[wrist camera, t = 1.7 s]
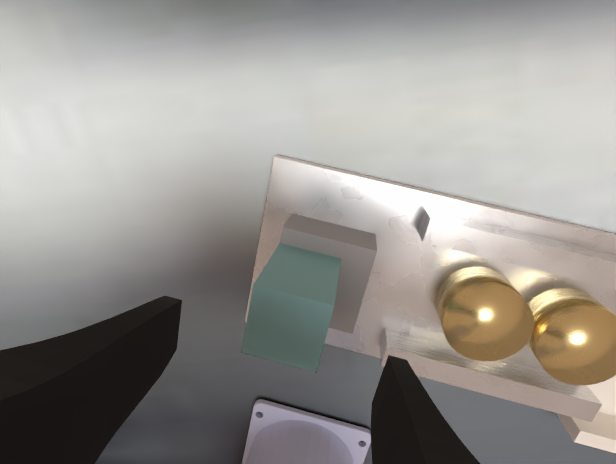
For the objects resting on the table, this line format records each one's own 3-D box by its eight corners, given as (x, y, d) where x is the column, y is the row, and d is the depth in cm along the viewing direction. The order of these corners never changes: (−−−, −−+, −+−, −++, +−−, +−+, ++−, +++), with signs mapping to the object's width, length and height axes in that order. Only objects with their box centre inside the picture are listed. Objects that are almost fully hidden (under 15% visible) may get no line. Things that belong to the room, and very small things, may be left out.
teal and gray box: (353, 309, 21) (349, 399, 14) (276, 289, 21) (238, 368, 15) (375, 233, 19) (382, 296, 13) (292, 213, 20) (257, 264, 13)
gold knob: (500, 340, 20) (517, 369, 18) (426, 324, 21) (433, 350, 18) (526, 275, 19) (547, 297, 17) (446, 259, 19) (456, 279, 17)
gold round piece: (582, 362, 20) (609, 394, 18) (507, 344, 20) (525, 372, 18) (616, 298, 19) (651, 323, 16) (536, 279, 19) (559, 301, 17)
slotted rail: (557, 395, 22) (584, 434, 19) (249, 313, 23) (234, 339, 21) (643, 240, 19) (689, 261, 16) (278, 154, 20) (265, 161, 17)
